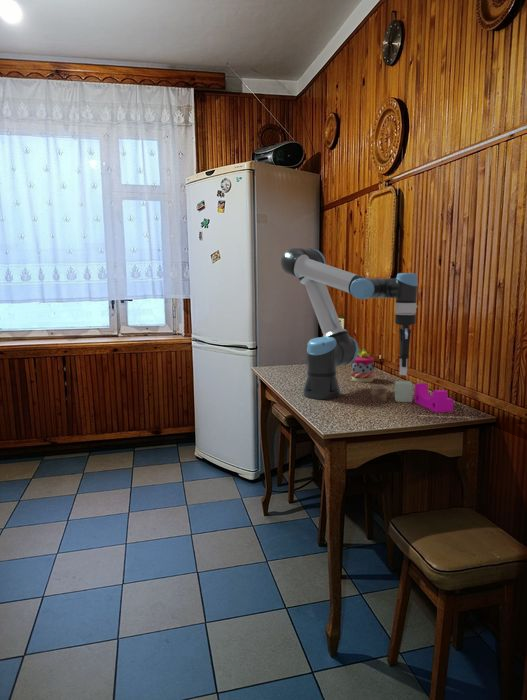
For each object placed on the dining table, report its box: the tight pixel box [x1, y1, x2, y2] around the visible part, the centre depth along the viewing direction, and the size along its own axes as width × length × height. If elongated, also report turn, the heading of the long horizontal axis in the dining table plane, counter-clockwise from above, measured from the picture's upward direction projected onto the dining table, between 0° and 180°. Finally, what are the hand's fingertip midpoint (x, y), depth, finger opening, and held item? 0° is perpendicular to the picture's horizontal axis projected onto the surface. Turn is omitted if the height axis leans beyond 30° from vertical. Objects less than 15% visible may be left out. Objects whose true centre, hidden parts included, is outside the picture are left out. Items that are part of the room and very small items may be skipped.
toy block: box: [414, 382, 454, 413], centre depth 172 cm, size 15×6×8 cm, turn 12°
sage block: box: [394, 380, 414, 403], centre depth 182 cm, size 6×6×7 cm
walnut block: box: [370, 385, 388, 402], centre depth 183 cm, size 5×5×5 cm
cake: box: [350, 348, 375, 383], centre depth 217 cm, size 10×10×15 cm
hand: (403, 374), depth 181 cm, fingers closed
